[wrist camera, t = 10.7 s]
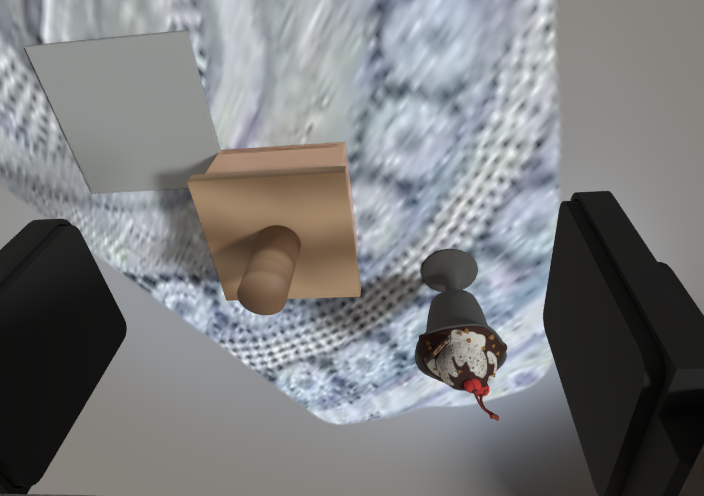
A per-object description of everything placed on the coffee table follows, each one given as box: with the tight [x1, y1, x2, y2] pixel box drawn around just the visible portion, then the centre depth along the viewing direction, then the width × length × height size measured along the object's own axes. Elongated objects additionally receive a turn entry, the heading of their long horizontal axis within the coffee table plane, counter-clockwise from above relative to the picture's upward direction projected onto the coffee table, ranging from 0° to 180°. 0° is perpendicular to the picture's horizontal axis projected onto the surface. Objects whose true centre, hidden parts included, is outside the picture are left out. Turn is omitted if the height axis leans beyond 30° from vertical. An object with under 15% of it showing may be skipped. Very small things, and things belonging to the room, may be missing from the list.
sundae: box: [415, 249, 507, 420], centre depth 40 cm, size 7×7×15 cm
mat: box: [25, 30, 220, 194], centre depth 39 cm, size 12×12×1 cm
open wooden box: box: [205, 142, 358, 254], centre depth 41 cm, size 10×10×5 cm
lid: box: [187, 166, 361, 315], centre depth 36 cm, size 11×11×7 cm
